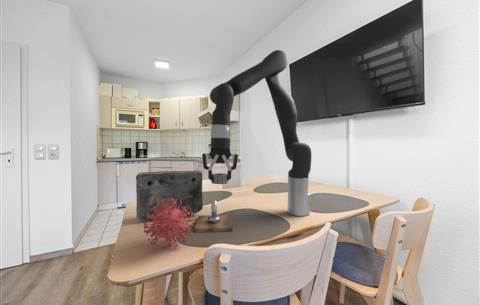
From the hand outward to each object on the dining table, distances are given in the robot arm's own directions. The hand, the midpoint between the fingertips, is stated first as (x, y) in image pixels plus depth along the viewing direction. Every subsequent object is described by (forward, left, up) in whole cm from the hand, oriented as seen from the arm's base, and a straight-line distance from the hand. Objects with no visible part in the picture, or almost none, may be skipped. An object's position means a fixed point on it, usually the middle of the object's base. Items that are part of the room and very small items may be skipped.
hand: (219, 180), depth 78 cm
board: (+2, -2, -18) cm, 18 cm away
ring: (0, 0, -1) cm, 1 cm away
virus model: (+15, +15, -18) cm, 28 cm away
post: (+2, -2, -17) cm, 17 cm away
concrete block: (+21, -11, -18) cm, 30 cm away
